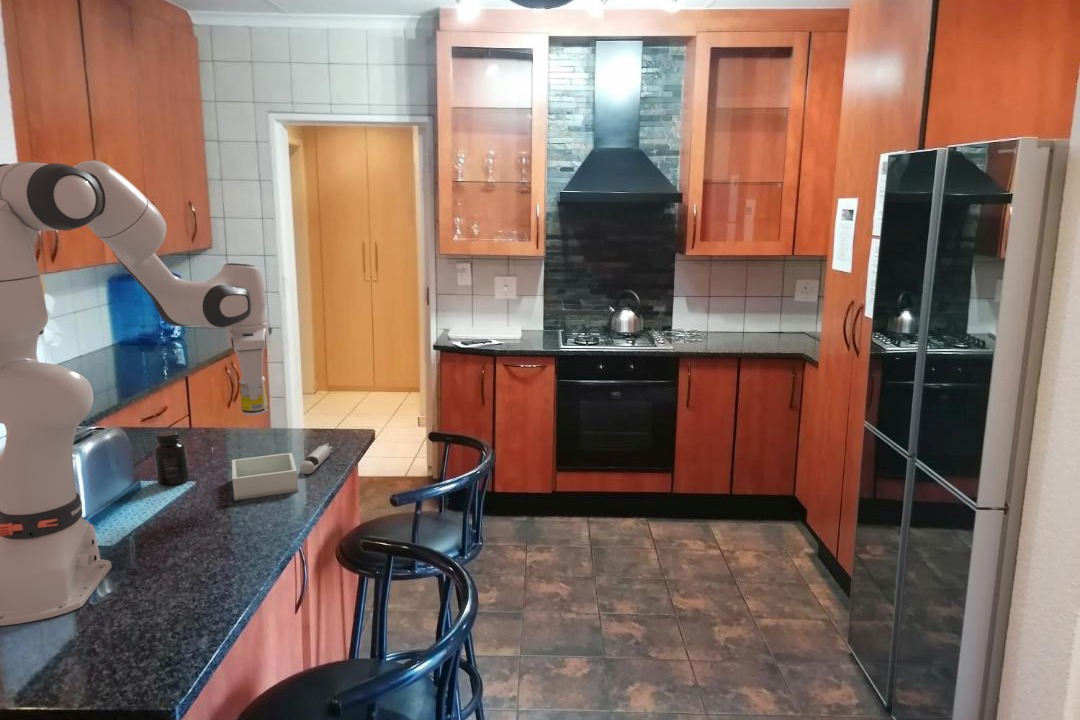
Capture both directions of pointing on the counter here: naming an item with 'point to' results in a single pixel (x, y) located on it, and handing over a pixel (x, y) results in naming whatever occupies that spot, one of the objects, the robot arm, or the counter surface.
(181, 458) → the supplement bottle
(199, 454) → the counter surface
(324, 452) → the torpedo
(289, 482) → the bin
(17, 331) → the robot arm
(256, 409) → the supplement bottle
